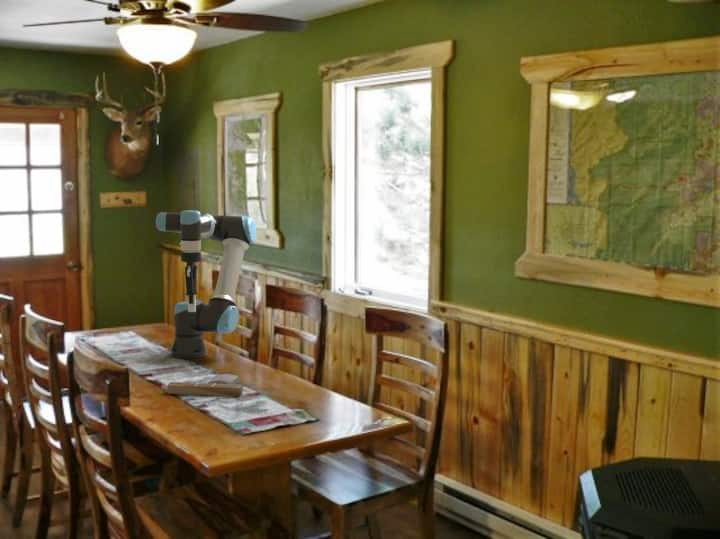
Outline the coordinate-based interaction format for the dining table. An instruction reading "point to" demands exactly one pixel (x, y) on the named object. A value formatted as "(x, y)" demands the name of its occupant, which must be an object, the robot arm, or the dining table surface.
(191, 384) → the tan wooden bar
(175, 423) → the dining table surface
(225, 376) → the stone block
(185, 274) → the robot arm
